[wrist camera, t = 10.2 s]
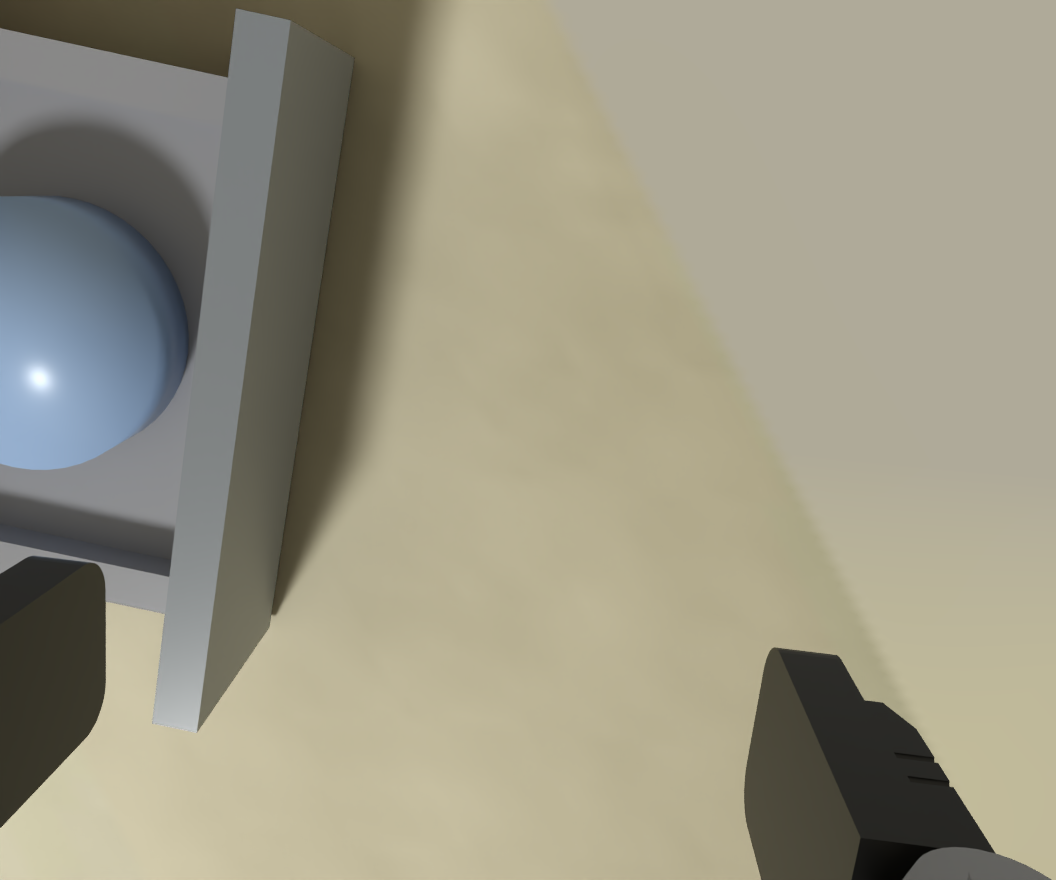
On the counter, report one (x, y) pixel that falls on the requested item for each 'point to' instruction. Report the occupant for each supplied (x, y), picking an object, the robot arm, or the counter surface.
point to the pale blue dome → (81, 332)
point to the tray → (213, 322)
